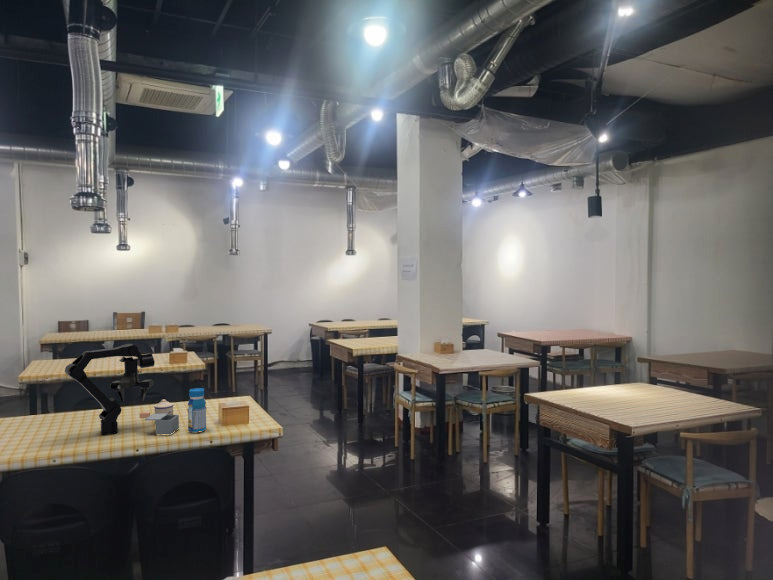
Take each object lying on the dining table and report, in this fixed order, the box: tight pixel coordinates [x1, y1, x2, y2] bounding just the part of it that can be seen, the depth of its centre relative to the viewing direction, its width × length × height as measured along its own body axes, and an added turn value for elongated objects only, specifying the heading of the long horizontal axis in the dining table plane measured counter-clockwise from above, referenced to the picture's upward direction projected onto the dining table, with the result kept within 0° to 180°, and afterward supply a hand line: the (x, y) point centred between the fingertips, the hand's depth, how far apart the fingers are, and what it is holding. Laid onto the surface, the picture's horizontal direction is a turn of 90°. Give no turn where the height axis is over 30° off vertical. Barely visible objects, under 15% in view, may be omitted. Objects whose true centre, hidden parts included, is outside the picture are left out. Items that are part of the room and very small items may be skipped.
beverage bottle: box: [187, 387, 207, 433], centre depth 248 cm, size 8×8×20 cm
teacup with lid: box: [153, 399, 174, 425], centre depth 264 cm, size 12×9×12 cm
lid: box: [139, 411, 168, 422], centre depth 246 cm, size 11×10×2 cm
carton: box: [155, 414, 180, 435], centre depth 246 cm, size 7×10×7 cm
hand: (132, 401), depth 253 cm, fingers open, 9 cm apart
